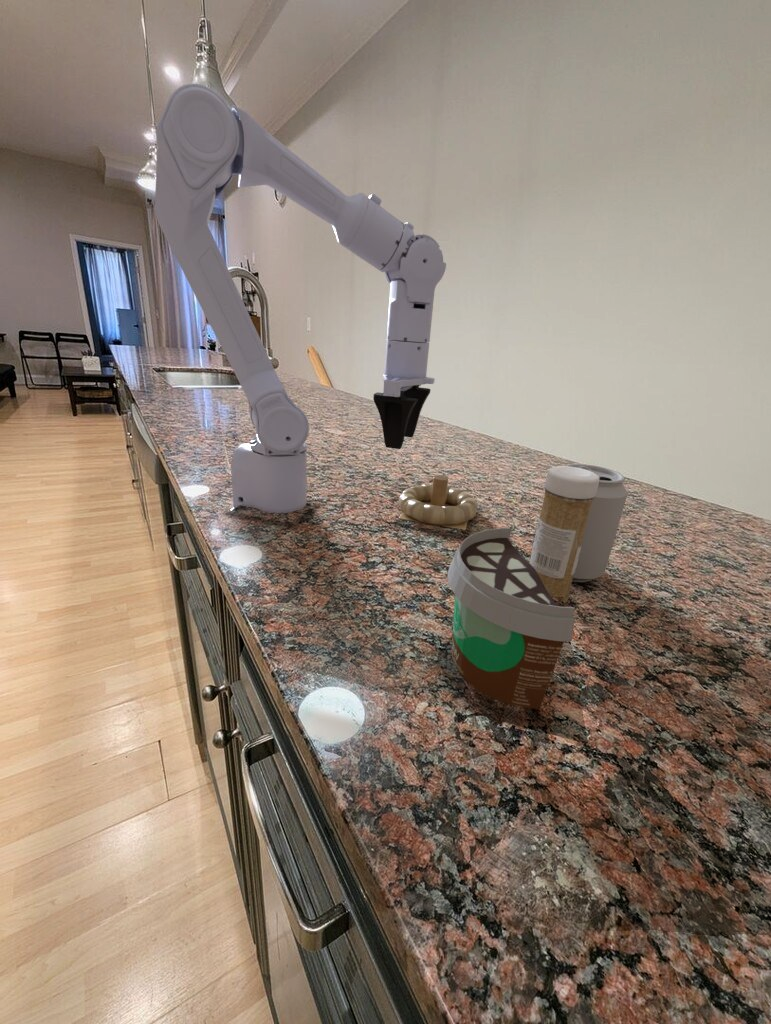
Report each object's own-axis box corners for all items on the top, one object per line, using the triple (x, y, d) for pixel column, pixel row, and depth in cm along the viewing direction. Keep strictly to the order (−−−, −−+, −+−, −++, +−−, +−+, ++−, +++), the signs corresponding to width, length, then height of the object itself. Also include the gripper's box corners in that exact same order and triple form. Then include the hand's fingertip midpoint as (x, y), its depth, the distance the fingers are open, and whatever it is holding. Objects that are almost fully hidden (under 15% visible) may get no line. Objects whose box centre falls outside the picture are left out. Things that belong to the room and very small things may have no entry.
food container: (424, 623, 41) (436, 523, 37) (489, 623, 41) (508, 525, 37) (454, 739, 29) (476, 612, 25) (544, 737, 30) (579, 613, 26)
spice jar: (577, 600, 46) (611, 475, 41) (548, 612, 43) (581, 482, 38) (541, 579, 49) (568, 462, 44) (512, 589, 47) (538, 467, 42)
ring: (389, 519, 59) (391, 502, 58) (408, 493, 69) (409, 478, 68) (471, 533, 56) (474, 516, 56) (479, 504, 66) (481, 489, 65)
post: (397, 526, 60) (401, 482, 58) (411, 503, 68) (415, 464, 66) (464, 537, 58) (471, 493, 56) (470, 513, 66) (477, 473, 64)
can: (571, 591, 47) (599, 485, 43) (521, 559, 53) (541, 463, 49) (617, 578, 51) (648, 478, 46) (565, 549, 57) (588, 458, 52)
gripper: (427, 344, 52) (416, 457, 57) (445, 342, 65) (435, 435, 70) (369, 340, 53) (364, 450, 59) (398, 339, 66) (392, 429, 72)
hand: (399, 441), depth 64 cm, fingers open, 7 cm apart
